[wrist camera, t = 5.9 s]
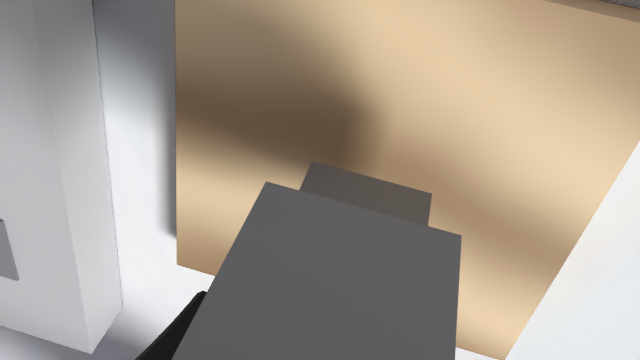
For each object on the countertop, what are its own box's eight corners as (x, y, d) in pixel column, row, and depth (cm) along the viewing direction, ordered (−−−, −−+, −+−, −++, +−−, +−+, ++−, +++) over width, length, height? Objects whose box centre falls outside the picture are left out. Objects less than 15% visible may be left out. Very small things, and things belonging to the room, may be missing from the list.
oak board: (502, 337, 20) (503, 361, 19) (188, 246, 21) (176, 264, 21) (689, 21, 13) (702, 38, 12) (192, -95, 14) (174, -86, 13)
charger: (410, 305, 16) (365, 621, 10) (275, 266, 16) (156, 549, 10) (465, 165, 13) (446, 505, 7) (297, 121, 13) (146, 408, 7)
